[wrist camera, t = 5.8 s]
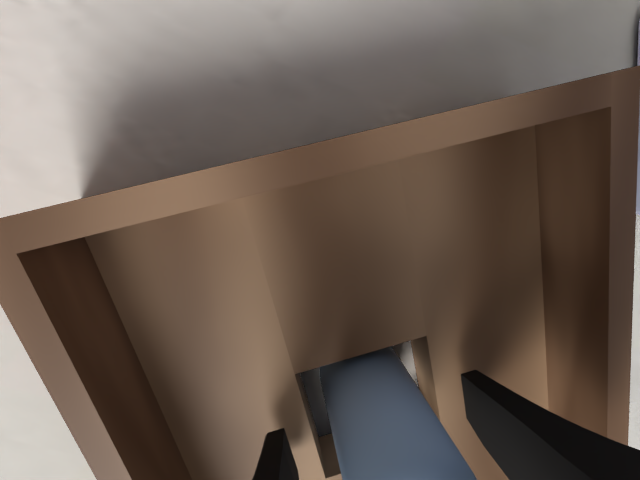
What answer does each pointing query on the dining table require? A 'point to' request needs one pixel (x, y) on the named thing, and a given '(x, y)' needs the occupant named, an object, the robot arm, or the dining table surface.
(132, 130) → the dining table surface
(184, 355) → the walnut box
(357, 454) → the peg
